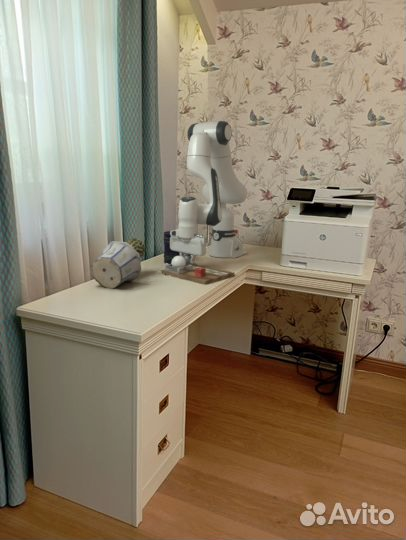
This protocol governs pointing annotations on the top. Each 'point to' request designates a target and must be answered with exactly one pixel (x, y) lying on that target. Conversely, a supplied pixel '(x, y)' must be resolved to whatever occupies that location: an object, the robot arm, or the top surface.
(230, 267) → the top surface
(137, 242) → the potted plant
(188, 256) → the pawn
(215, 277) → the board
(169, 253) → the storage jar
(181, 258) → the white ball
